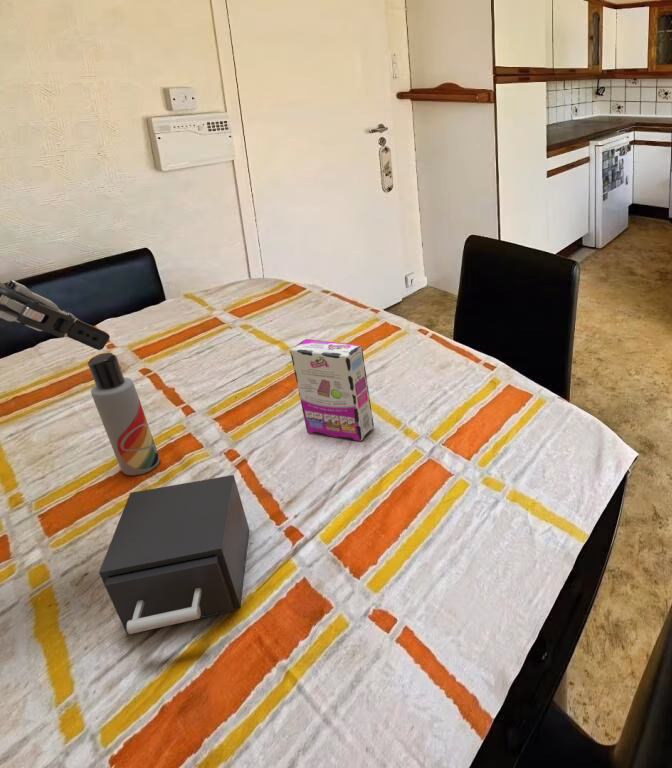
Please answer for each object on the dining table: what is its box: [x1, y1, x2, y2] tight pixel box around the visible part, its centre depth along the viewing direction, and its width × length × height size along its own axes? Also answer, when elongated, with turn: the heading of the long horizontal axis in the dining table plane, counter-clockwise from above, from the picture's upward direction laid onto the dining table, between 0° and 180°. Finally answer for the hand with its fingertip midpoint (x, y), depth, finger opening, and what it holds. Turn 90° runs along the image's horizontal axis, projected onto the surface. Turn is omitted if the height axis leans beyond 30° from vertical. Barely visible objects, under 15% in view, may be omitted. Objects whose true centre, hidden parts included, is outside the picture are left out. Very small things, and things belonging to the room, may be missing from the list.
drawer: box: [104, 555, 234, 635], centre depth 75 cm, size 18×11×8 cm, turn 16°
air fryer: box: [98, 474, 250, 628], centre depth 78 cm, size 15×13×10 cm
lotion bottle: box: [87, 352, 161, 476], centre depth 97 cm, size 6×6×20 cm
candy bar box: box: [289, 338, 375, 442], centre depth 107 cm, size 11×5×16 cm, turn 73°
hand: (104, 342), depth 74 cm, fingers closed
